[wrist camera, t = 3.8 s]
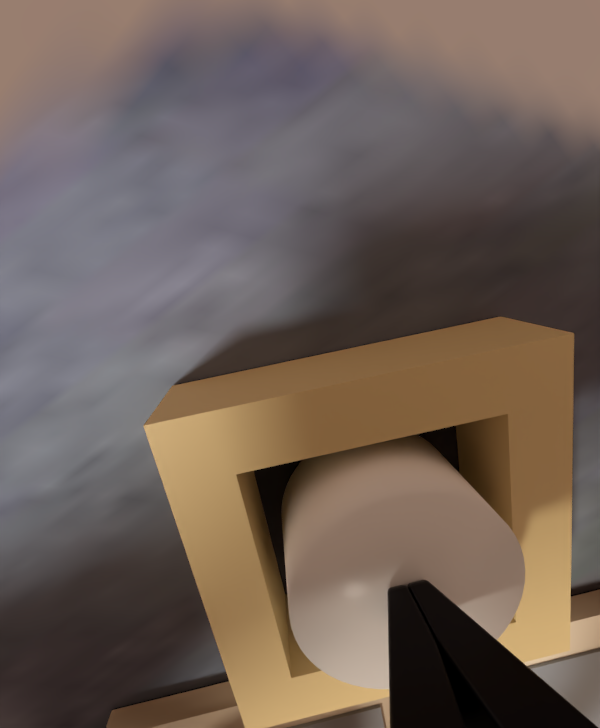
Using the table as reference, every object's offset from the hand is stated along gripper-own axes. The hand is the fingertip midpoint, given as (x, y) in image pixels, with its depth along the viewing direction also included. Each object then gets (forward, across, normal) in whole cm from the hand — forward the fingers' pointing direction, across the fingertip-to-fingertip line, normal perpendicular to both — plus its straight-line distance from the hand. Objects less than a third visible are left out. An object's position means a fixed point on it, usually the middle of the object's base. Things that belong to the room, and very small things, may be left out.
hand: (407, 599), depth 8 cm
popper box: (+4, 0, 0) cm, 4 cm away
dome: (+3, 0, 0) cm, 3 cm away
